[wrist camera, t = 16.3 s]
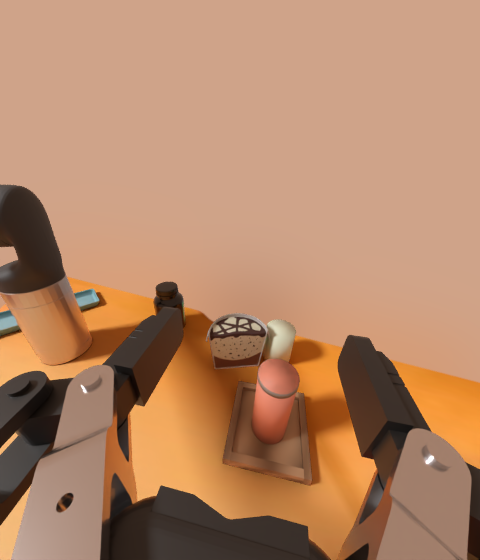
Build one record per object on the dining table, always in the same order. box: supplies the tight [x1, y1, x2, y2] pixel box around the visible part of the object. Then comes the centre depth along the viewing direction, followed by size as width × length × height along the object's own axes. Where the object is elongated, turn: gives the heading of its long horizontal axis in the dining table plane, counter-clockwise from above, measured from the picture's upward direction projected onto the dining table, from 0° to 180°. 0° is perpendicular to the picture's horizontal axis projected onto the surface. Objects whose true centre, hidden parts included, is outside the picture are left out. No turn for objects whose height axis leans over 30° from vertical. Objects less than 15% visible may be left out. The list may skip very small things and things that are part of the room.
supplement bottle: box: [154, 282, 186, 328], centre depth 51 cm, size 7×7×12 cm
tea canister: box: [252, 358, 300, 444], centre depth 30 cm, size 6×6×12 cm
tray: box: [223, 381, 312, 485], centre depth 33 cm, size 12×12×2 cm
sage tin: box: [263, 320, 296, 363], centre depth 44 cm, size 6×6×8 cm
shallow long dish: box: [0, 289, 100, 336], centre depth 55 cm, size 26×9×2 cm, turn 132°
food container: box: [206, 313, 270, 369], centre depth 43 cm, size 12×6×10 cm, turn 97°
